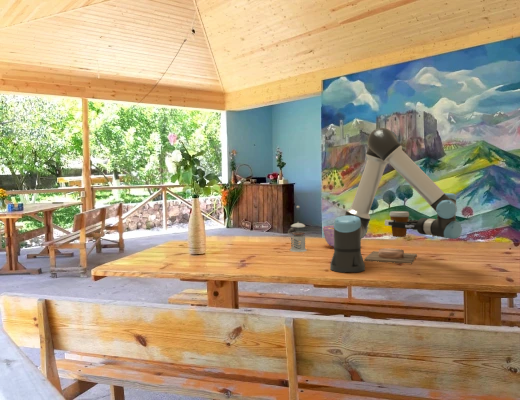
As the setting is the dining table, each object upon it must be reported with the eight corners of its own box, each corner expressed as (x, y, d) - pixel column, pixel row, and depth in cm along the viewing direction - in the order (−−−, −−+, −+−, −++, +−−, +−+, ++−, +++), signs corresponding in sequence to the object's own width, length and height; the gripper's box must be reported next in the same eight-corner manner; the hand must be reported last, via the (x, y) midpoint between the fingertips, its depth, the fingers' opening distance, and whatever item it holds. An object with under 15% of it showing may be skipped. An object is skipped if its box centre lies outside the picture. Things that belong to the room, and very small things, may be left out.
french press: (299, 252, 243) (299, 206, 241) (283, 250, 251) (282, 205, 249) (310, 250, 250) (310, 205, 248) (294, 247, 258) (294, 204, 256)
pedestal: (411, 264, 208) (411, 255, 208) (364, 260, 217) (364, 252, 217) (416, 255, 228) (416, 248, 228) (373, 253, 237) (373, 245, 237)
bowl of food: (323, 244, 269) (323, 224, 268) (357, 244, 265) (357, 225, 264) (321, 249, 249) (321, 229, 249) (358, 250, 245) (358, 229, 245)
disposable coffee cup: (410, 237, 215) (410, 212, 214) (389, 237, 217) (390, 212, 216) (408, 235, 224) (408, 211, 223) (388, 234, 226) (388, 211, 225)
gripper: (411, 236, 199) (376, 230, 219) (444, 233, 209) (407, 227, 229) (411, 220, 199) (376, 215, 219) (444, 217, 209) (407, 213, 229)
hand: (392, 221), depth 224 cm, fingers closed on disposable coffee cup, 8 cm apart
